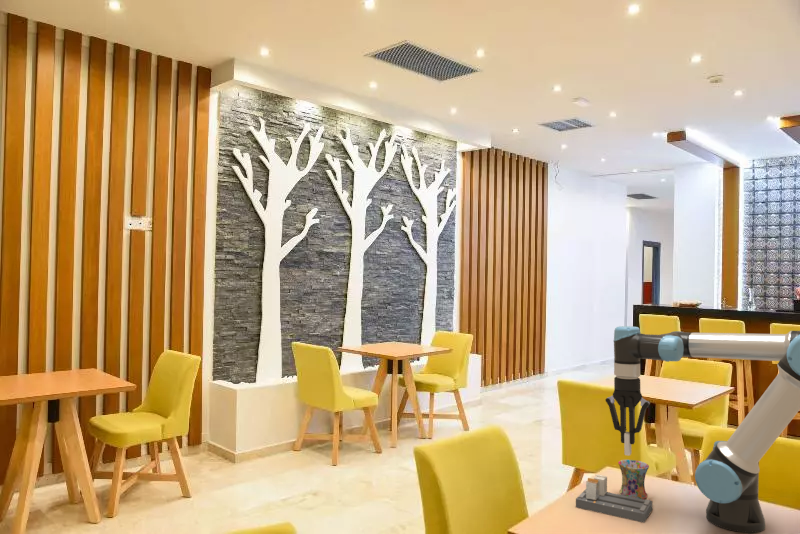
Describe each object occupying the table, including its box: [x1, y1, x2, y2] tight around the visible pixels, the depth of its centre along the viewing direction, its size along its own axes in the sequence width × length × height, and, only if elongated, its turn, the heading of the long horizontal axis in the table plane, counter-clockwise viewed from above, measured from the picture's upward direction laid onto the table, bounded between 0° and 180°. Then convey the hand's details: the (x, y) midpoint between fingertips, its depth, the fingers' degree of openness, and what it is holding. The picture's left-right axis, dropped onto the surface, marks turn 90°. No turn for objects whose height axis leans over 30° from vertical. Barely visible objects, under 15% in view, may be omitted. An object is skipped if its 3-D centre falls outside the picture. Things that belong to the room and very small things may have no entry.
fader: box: [585, 477, 600, 500], centre depth 189 cm, size 3×4×6 cm
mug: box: [618, 459, 650, 500], centre depth 200 cm, size 12×9×11 cm
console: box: [575, 474, 653, 523], centre depth 188 cm, size 20×12×8 cm, turn 57°
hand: (627, 454), depth 187 cm, fingers closed
